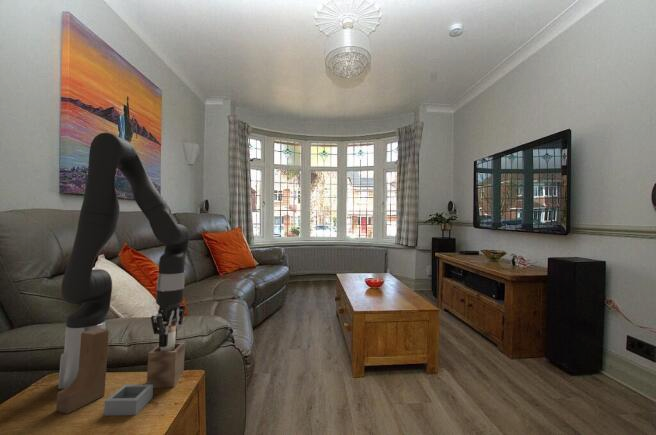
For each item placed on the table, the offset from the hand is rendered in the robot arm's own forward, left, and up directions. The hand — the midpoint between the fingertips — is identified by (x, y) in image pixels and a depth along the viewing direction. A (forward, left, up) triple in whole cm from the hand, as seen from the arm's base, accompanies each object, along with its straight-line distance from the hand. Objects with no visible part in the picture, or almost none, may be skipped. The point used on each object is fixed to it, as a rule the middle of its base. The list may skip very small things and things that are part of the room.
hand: (167, 343), depth 88 cm
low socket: (-7, -11, -11) cm, 17 cm away
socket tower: (0, 0, -11) cm, 11 cm away
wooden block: (-19, -5, -11) cm, 23 cm away
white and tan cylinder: (0, 0, -4) cm, 4 cm away
